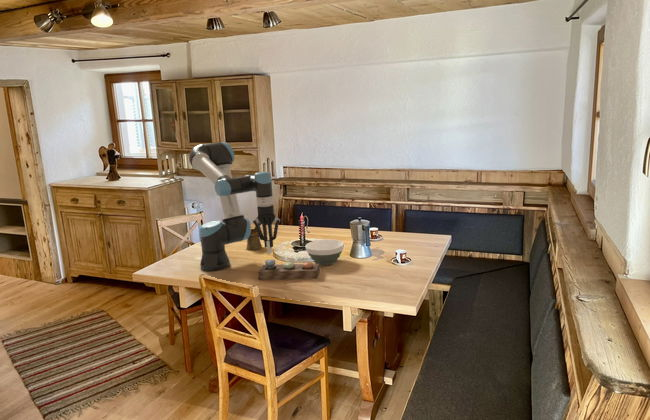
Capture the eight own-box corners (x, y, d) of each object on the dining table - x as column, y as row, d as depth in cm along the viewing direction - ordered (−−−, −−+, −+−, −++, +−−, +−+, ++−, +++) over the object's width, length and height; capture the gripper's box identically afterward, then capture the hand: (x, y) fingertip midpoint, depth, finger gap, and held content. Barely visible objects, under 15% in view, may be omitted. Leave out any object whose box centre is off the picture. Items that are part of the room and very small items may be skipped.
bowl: (323, 254, 254) (322, 237, 252) (352, 259, 241) (351, 242, 239) (298, 264, 239) (297, 246, 237) (328, 271, 227) (327, 252, 225)
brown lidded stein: (269, 244, 279) (267, 215, 276) (255, 251, 268) (252, 220, 265) (258, 243, 284) (255, 214, 280) (243, 249, 273) (240, 219, 269)
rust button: (302, 274, 220) (301, 265, 219) (304, 270, 225) (303, 262, 224) (312, 274, 219) (311, 265, 219) (313, 270, 224) (313, 261, 223)
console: (258, 279, 221) (257, 271, 220) (264, 272, 230) (263, 264, 230) (317, 278, 217) (316, 270, 216) (320, 271, 227) (319, 263, 226)
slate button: (264, 271, 222) (264, 262, 221) (267, 268, 227) (266, 259, 226) (274, 271, 222) (273, 262, 221) (276, 268, 226) (276, 259, 225)
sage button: (283, 274, 221) (282, 265, 220) (285, 271, 226) (285, 262, 225) (293, 274, 221) (292, 265, 220) (295, 271, 225) (294, 262, 224)
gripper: (249, 207, 215) (254, 256, 220) (277, 206, 213) (281, 255, 218) (253, 204, 222) (258, 251, 227) (280, 203, 221) (284, 251, 225)
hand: (269, 253), depth 223 cm, fingers closed
